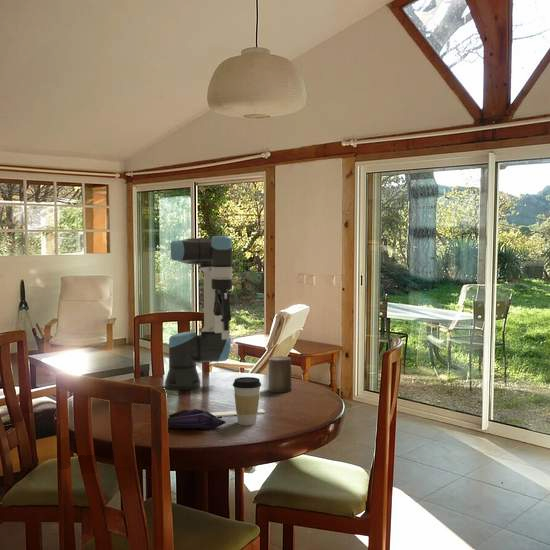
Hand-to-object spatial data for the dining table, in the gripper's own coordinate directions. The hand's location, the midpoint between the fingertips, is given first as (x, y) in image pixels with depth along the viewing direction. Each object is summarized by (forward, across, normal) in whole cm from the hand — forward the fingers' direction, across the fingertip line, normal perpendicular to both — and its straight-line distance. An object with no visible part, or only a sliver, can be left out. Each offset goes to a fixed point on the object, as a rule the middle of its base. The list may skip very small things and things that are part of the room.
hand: (221, 336), depth 227 cm
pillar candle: (+29, +25, -30) cm, 49 cm away
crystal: (+28, -19, +13) cm, 36 cm away
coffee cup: (+28, -18, -5) cm, 33 cm away
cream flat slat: (+28, -6, -2) cm, 28 cm away
